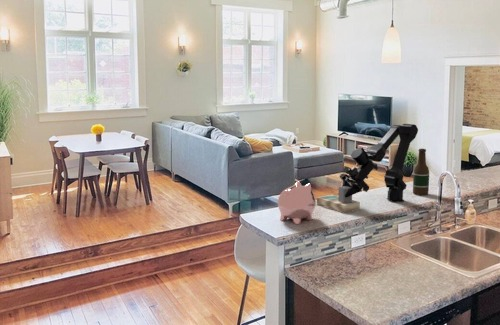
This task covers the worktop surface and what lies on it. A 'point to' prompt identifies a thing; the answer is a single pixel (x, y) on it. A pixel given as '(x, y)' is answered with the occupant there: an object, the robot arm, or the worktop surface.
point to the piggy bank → (297, 203)
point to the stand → (337, 203)
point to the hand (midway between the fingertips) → (342, 195)
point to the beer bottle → (421, 175)
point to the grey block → (342, 193)
